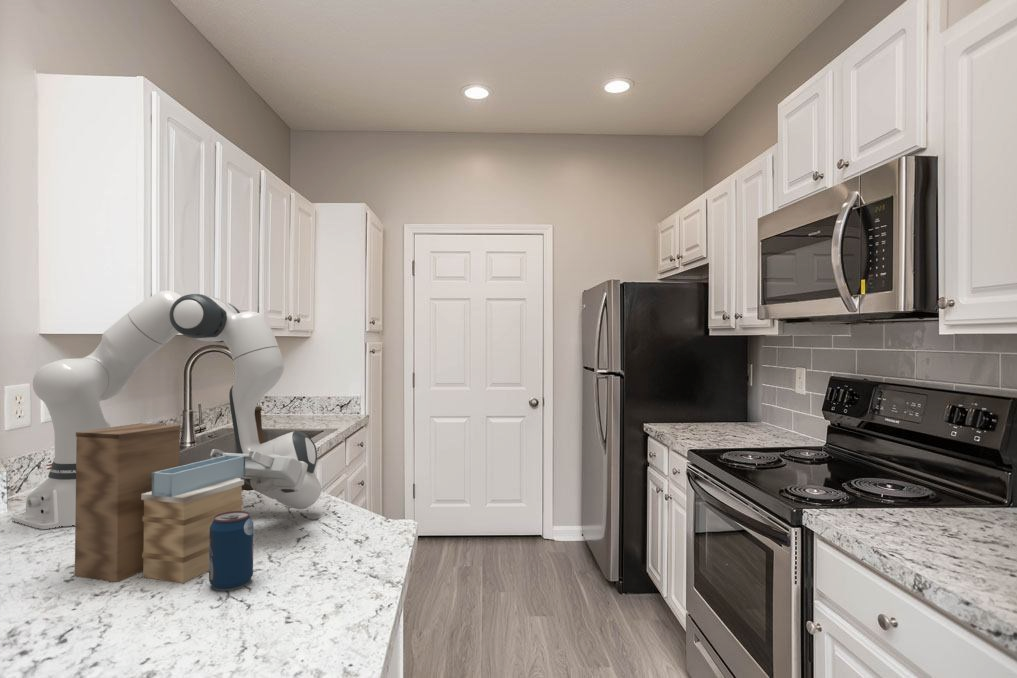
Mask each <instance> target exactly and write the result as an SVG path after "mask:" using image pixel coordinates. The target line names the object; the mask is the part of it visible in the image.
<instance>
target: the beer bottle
mask: <svg viewBox="0 0 1017 678" xmlns="http://www.w3.org/2000/svg"><path fill="white" fill-rule="evenodd" d="M262 411H263V408H262V406H260V405H259V406H257V405H256V408H255V421H256V427H257V433H258V439H259V443H260V444H262V443H265V442H267V441H268V439H267V437H266V435H265V433H264V432H263V424H262V423H263V422H262V421H263V420H262ZM244 489H245V491H253V490H252V489H253V488H252V486H251V485H248V484H247V483H245V482H244V485H242V490H244Z"/></svg>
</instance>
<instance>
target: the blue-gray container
mask: <svg viewBox="0 0 1017 678" xmlns="http://www.w3.org/2000/svg"><path fill="white" fill-rule="evenodd" d="M242 476H245V456H236V455H225V456H221V457H217V458H213V459H211V458H209V459H205V460H200V461H196V462H191V463H188V464H184V465H179V467H174V468H170V469H166V470H162V471H157V472H153V473H152V495H155V496H166V497H173V496H177V495H180V494H184V493H187V492H191V491H194V490H197V489H201V488H204V487H208V486H211V485H214V484H218V483H221V482H225V481H228V480H232V479H239V478H238V477H242Z"/></svg>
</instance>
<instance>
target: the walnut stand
mask: <svg viewBox="0 0 1017 678" xmlns="http://www.w3.org/2000/svg"><path fill="white" fill-rule="evenodd" d="M181 427H182V426H181V424H164V423H163V424H160V423H142V422H141V423H133V424H132V423H131V424H127V425H126V424H125V425H118V426H113V427H110V428H103V429H96V430H88V431H81V432H76V437H77V442H76V517H75V525H74V528H75V532H74V533H75V534H74V536H75V537H74V541H75V542H74V576H75V577H80V578H85V577H86V579H92V578H93V579H92V580H99V579H102V580H101V581H105V580H107V582H112V581H113V582H112V583H118V581H119V582H120V581H123V580H125V579H128V578H130V577H132V576H136V575H138V574H140V573H143V558H142V552H143V550H144V522H143V521H142V516H144V500H141V494H143V493H147V492H151V491H152V473H153V472H157V471H162V470H166V469H170V468H174V467H179V466H180V450H181V449H180V439H181V438H180V435H181V434H180V433H181V432H180V431H181V429H182V428H181ZM137 573H138V574H137Z"/></svg>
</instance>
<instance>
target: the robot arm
mask: <svg viewBox="0 0 1017 678" xmlns="http://www.w3.org/2000/svg"><path fill="white" fill-rule="evenodd" d="M179 334H181V335H183V336H185V337H187V338H189V339H195V340H198V341H202V342H214V343H225V344H226V346H227V348H228V350H229V353H230V356H231V358H232V362H233V366H234V380H233V385H231V387H230V389H229V392H228V393H229V395H228V397H229V406H230V414H231V420H232V426H233V433H234V440H235V448H236V452H235V453H233V452H224V451H223V450H221V449H217V448H216V449H215V448H214V449H211V452H210V453H209V455H210V456H209V457H210V459H213V458H217V457H221V456H225V455H236V456H245V476H242V477H238V478H237V479H242V480H244V482H245V483H247V484H248V485H251V486H252V488H253V489H254V490H253V491H254V492H255V491H256V492H257V493H259V494H261V495H263V496H264V497H267V498H270V499H273V500H276V501H277V502H278V503H279V504H282V505H284V506H286V507H289V508H292V509H297V510H303V509H307V508H309V507H311V506H312V505H315V503H316V502H317V501H318V500H319V498H320V496H321V493H322V485H321V482H320V481H319V479H318V477H317V475H316V472H315V470H316V467H317V462H318V461H317V460H318V451H317V447H316V444H315V443H314V441H313V440H312V438H311V437H310V436H308V435H307V434H306V433H304V432H302V431H299V430H294V431H291V432H287V433H285V434H283V435H280V436H278V437H276V438H273V439H269V440H267V442H265V443H262V444H260V443H259V439H258V433H257V427H256V421H255V408H256V406H257V405H258V403H259V402H260V401H261V399H262V398H263V397H264V396H265V395H266V394H267V393H268V392H269V391H271V390H272V389H273V388H274V387H275V386H276V385H277V384H278V382H279V380H280V379H281V377H282V375H283V373H284V370H285V363H284V358H283V355H282V351H281V349H280V347H279V344H278V341H277V338H276V337H275V334H274V331H273V329H272V328H271V326H270V324H269V322H268V321H267V319H266V317H265V316H264V315H263V314H262V313H259V312H257V311H251V310H248V311H242V312H240V310H239V309H238V308H237V307H235V305H233V304H231V303H228V302H227V301H224V300H222V299H220V298H218V297H217V298H216V297H212V296H208V295H204V294H200V293H189V294H185V295H181V294H180V293H178V292H175V291H173V290H168V289H167V290H161V291H159V292H157V293H154V294H152V295H151V296H149V297H148V298H146V299H145V300H143V301H141V302H139V303H138V304H137V305H136V306H134V307H133V308H132V309H131V310H129V311H128V312H127V313H126V314H124V315H123V316H122V317H121V318H120V319H118V320H117V321H116V322H114V324H112V325H111V326H110V327H108V329H107V330H105V331H104V332H103V333H102V335H101V341H100V343H99V344H98V346H97V347H96V348H95V349H94V350H93V351H92V352H91V353H90V354H88V355H86V356H83V357H81V358H78V357H77V358H62V359H61V358H60V359H59V360H55V361H52V362H49V363H47V364H44V365H43V366H41V367H40V368H39V369H38V370H37V371H36V372H35V374H34V376H33V380H32V387H33V391H34V394H35V395H36V396H37V397H38V398H39V399H40V400H41V401H42V402H43V404H44V405H45V406H46V408H47V410H48V413H49V415H50V419H51V423H52V426H53V433H54V435H53V436H54V461H53V462H52V463H51V464H46V467H47V468H46V470H47V471H48V470H49V472H48V475H47V477H48V478H47V479H45V481H43V482H42V483H41V484H39V486H37V487H36V488H35V489H34V490H32V491H31V492H30V493H28V495H27V497H26V502H25V511H24V512H21V513H18V514H16V515H14V516H13V517H12V520H11V521H12V522H14V521H15V522H14V523H17V522H19V523H18V524H21V523H22V524H21V525H24V524H25V526H28V525H29V527H31V526H32V528H35V529H38V528H39V529H38V530H48V529H49V528H50V529H55V527H56V528H62V527H61V526H63V527H71V526H72V525H74V526H75V517H76V442H77V437H76V432H81V431H88V430H96V429H103V428H110V427H111V424H110V423H109V422H108V420H106V418H105V416H104V414H103V410H102V406H101V401H106V400H109V399H112V398H114V397H115V396H117V395H119V394H120V393H122V392H123V391H124V390H125V389H126V387H127V386H128V383H129V380H130V379H131V378H132V376H134V373H136V371H137V370H139V368H140V367H141V366H142V364H144V363H145V362H146V361H147V360H148V359H150V358H151V357H152V356H153V355H155V354H156V352H157V351H159V350H160V349H161V348H163V346H165V345H166V344H167V343H168V342H169V341H171V340H172V339H173V338H174V337H176V336H177V335H179ZM59 526H60V527H59ZM72 527H73V526H72ZM50 529H49V530H50Z"/></svg>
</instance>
